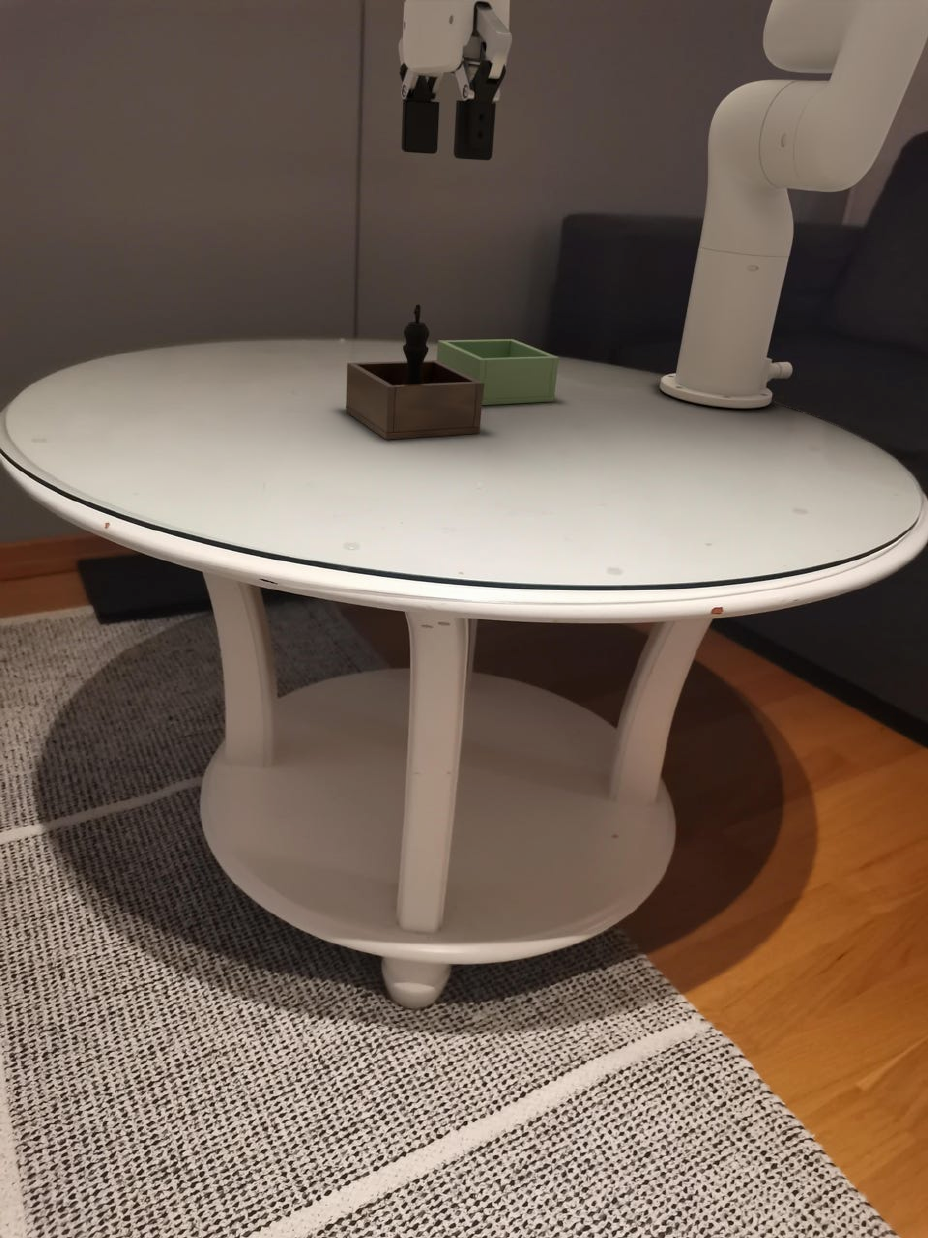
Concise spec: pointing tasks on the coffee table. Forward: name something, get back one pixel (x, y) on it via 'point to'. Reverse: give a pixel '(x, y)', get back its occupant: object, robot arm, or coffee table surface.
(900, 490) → the coffee table surface
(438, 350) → the light bin
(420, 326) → the chess piece
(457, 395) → the dark bin
